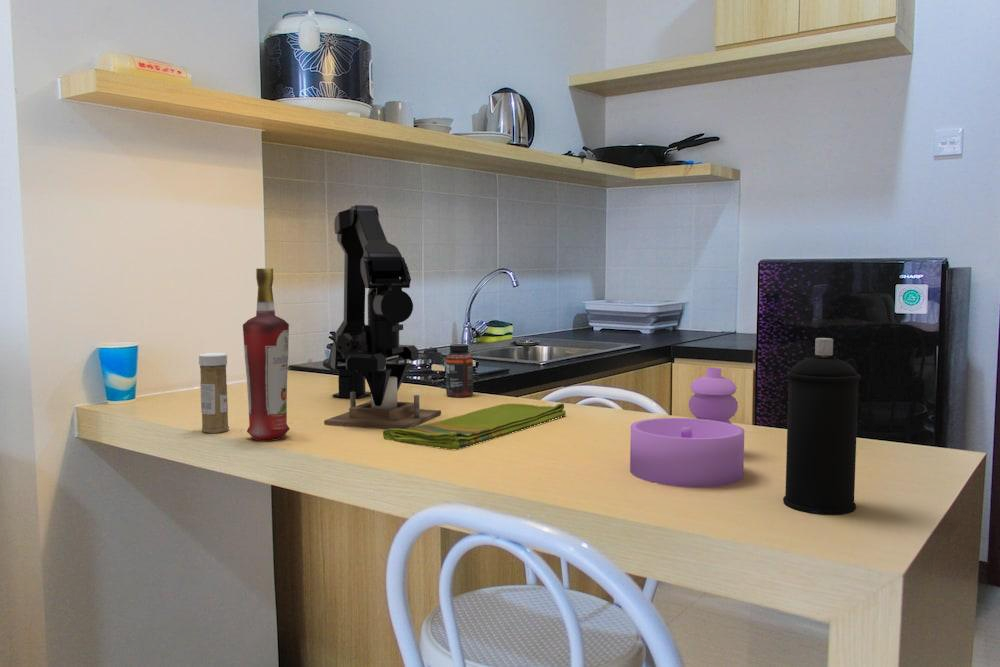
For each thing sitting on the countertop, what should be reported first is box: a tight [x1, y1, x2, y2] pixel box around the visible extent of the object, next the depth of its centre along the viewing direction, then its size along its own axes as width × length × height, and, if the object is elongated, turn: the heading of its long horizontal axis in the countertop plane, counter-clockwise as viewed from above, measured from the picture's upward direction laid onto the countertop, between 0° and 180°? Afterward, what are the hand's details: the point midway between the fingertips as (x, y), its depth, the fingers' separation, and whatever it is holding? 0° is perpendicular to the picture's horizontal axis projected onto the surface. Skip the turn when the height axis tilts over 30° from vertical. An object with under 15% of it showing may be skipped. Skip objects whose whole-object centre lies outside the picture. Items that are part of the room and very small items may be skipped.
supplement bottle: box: [445, 343, 474, 398], centre depth 184 cm, size 6×6×11 cm
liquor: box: [242, 268, 290, 442], centre depth 138 cm, size 7×7×28 cm
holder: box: [324, 392, 442, 430], centre depth 156 cm, size 16×16×5 cm
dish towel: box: [382, 403, 567, 450], centre depth 149 cm, size 15×36×3 cm, turn 146°
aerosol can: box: [782, 337, 862, 515], centre depth 100 cm, size 8×8×20 cm
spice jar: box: [198, 352, 230, 434], centre depth 145 cm, size 5×5×13 cm
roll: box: [370, 376, 398, 409], centre depth 156 cm, size 5×5×6 cm
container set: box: [629, 367, 745, 488], centre depth 120 cm, size 25×15×13 cm, turn 151°
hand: (384, 403), depth 156 cm, fingers closed on roll, 5 cm apart
